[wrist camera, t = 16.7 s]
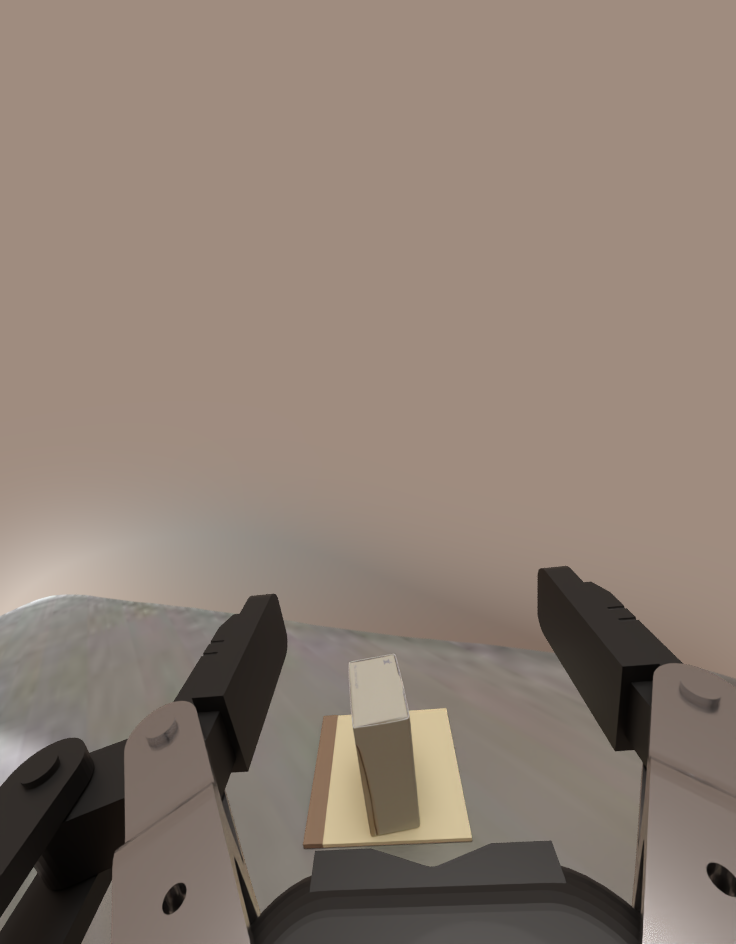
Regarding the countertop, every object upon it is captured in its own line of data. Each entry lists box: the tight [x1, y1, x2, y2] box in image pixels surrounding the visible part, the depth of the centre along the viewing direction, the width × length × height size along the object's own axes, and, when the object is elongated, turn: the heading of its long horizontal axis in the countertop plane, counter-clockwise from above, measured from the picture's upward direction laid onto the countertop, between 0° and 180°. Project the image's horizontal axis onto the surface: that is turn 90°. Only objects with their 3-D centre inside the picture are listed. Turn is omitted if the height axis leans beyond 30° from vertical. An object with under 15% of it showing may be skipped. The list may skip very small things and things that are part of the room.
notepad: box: [303, 708, 472, 848], centre depth 33 cm, size 14×11×1 cm
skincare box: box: [349, 654, 420, 836], centre depth 30 cm, size 6×4×12 cm
